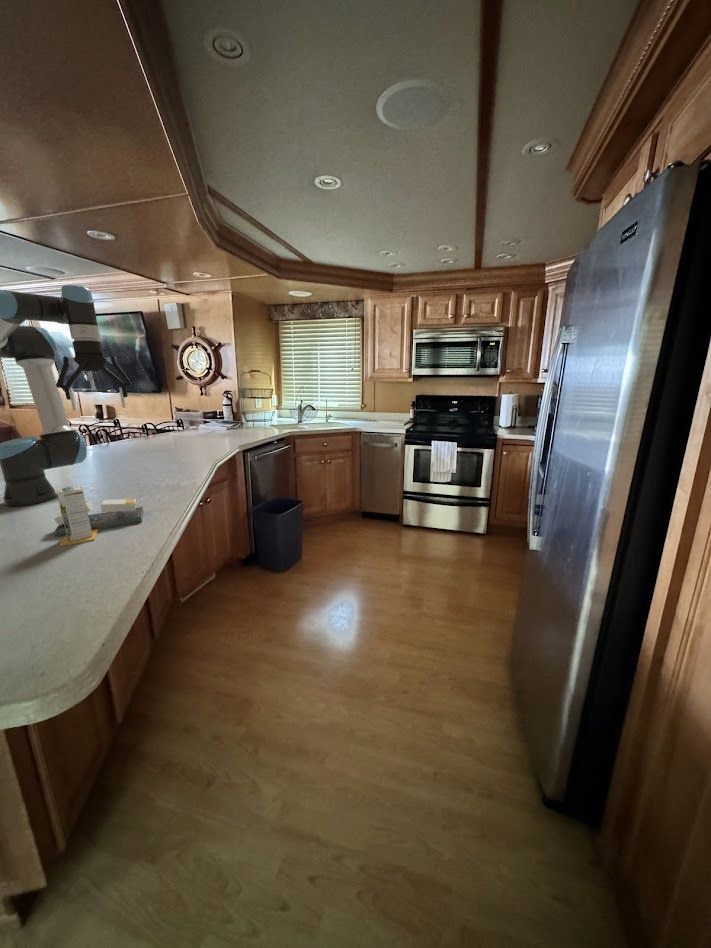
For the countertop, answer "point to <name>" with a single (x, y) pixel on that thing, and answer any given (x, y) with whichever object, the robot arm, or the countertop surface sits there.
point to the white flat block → (59, 516)
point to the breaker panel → (109, 520)
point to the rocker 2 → (118, 505)
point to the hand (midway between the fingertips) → (100, 408)
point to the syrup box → (74, 513)
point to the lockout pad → (66, 542)
